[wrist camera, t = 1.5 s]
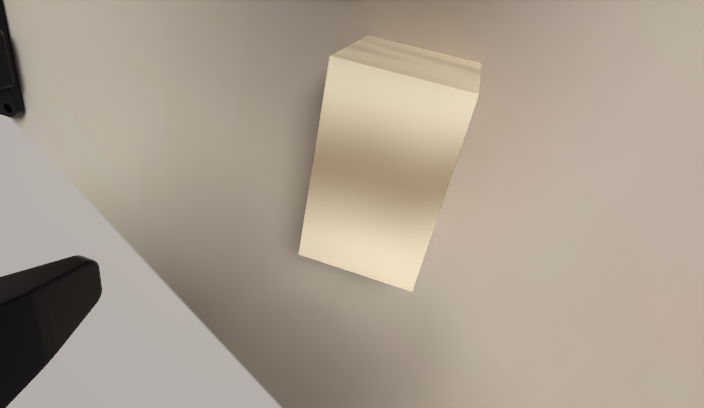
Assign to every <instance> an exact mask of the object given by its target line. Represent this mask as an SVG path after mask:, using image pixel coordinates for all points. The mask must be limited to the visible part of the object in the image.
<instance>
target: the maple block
mask: <svg viewBox="0 0 704 408" xmlns="http://www.w3.org/2000/svg"><path fill="white" fill-rule="evenodd" d="M481 66H482V63H478V62H474V61H470V60H466V59H462V58H458V57H454V56H450V55H446V54H442V53H438V52H434V51H430V50H426V49H422V48H418V47H414V46H410V45H406V44H401V43H397V42H393V41H389V40H385V39H381V38H377V37H373V36H369V35H367V36H365V37H364V38H362V39H360V40H358V41H356V42H354V43H352V44H351V45H349V46H347V47H345V48H343V49H341V50H339V51H338V52H336V53H334V54H332V55H330V57H329V63H328V70H327V76H326V82H325V89H324V95H323V101H322V108H321V114H320V121H319V127H318V133H317V140H316V146H315V152H314V159H313V165H312V172H311V178H310V184H309V191H308V197H307V203H306V210H305V216H304V222H303V229H302V235H301V242H300V248H299V254H298V255H301V256H305V257H308V258H311V259H314V260H317V261H320V262H323V263H326V264H329V265H332V266H335V267H338V268H341V269H344V270H347V271H350V272H353V273H356V274H359V275H362V276H365V277H368V278H371V279H374V280H377V281H381V282H384V283H387V284H390V285H393V286H396V287H399V288H402V289H405V290H408V291H411V292H412V291H413V288H414V285H415V282H416V279H417V276H418V273H419V270H420V267H421V265H422V262H423V259H424V256H425V253H426V250H427V247H428V244H429V241H430V238H431V235H432V232H433V229H434V226H435V223H436V220H437V217H438V214H439V211H440V209H441V206H442V203H443V200H444V197H445V194H446V191H447V188H448V185H449V182H450V179H451V176H452V173H453V170H454V167H455V164H456V161H457V158H458V155H459V153H460V150H461V147H462V144H463V141H464V138H465V135H466V132H467V129H468V126H469V123H470V120H471V117H472V114H473V111H474V108H475V105H476V102H477V99H478V97H479V91H480V78H481Z"/></svg>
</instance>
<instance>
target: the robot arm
mask: <svg viewBox="0 0 704 408" xmlns="http://www.w3.org/2000/svg"><path fill="white" fill-rule="evenodd" d="M22 113H23V107H22V102H21V97H20V92H19V87H18V83H17V78H16V73H15V68H14V63H13V59H12V54H11V49H10V44H9V39H8V34H7V30H6V25H5V20H4V15H3V10H2V5H1V1H0V114H1V115H5V116H8V117H16V116H19V115H21V114H22ZM101 292H102V286H101V279H100V271H99V265H98V263H97V262H96V261H94V260H91V259H89V258H86V257H83V256H72V257H69V258H65V259H62V260H59V261H55V262H51V263H48V264H45V265H41V266H37V267H34V268H31V269H27V270H24V271H20V272H17V273H13V274H10V275H6V276H3V277H0V408H6V407H7V406H8V404H9V403H10V402H11V401H12V400H13V399H14V398H15V397H16V396H17V395H18V394H19V393H20V392H21V391H22V390H23V389H24V388H25V387H26V386H27V385H28V384H29V383H30V382H31V380H33V378H35V376H36V375H37V374H38V373H39V372H40V371H41V370H42V369H43V368H44V367H45V365H47V364H48V362H49V361H50V360H51V359H52V358H53V357H54V355H55V354H56V353H57V352H58V351H59V349H60V348H61V347H62V346H63V344H64V343H65V342H66V341H67V339H68V338H69V337H70V336H71V334H72V333H73V332H74V331H75V329H76V328H77V327H78V326H79V324H80V323H81V322H82V321H83V319H84V318H85V317H86V316H87V314H88V313H89V312H90V311H91V309H92V308H93V307H94V306H95V304H96V303H97V302H98V300H99V298H100V296H101Z"/></svg>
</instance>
